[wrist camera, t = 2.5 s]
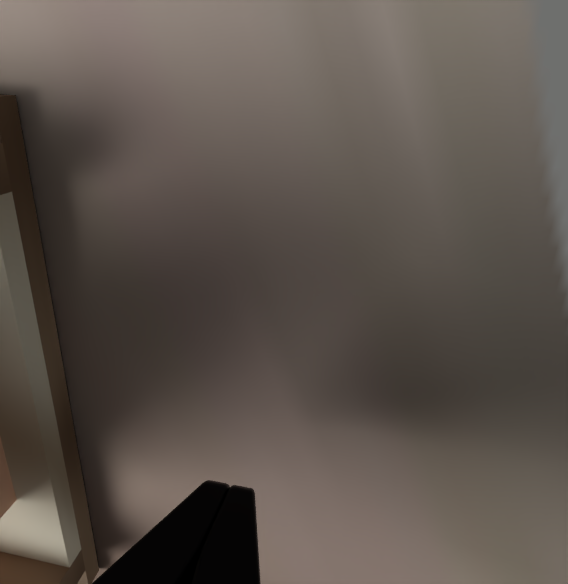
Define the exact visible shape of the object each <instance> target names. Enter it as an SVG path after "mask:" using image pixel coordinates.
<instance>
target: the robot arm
mask: <svg viewBox="0 0 568 584" xmlns="http://www.w3.org/2000/svg"><path fill="white" fill-rule="evenodd" d="M92 584H260V569H259V553H258V537H257V522H256V506H255V493H254V490H253V489H251V488H247V487H242V486H237V485H233V486H231V487H230V486H229V485H228V484H226V483H221V482H216V481H210V480H208V481H205V482H204V483H202V484H201V485H200V486H199V487H198V488H197V489H196V490H195V491H194V492H192V493H191V494H190V495H189V496H188V497H187V498H186V499H185V500H184V501H183V502H181V503H180V504H179V505H178V506H177V507H176V508H175V509H174V510H173V511H171V512H170V513H169V514H168V515H167V516H166V517H165V518H164V519H163V520H162V521H160V522H159V523H158V524H157V525H156V526H155V527H154V528H153V529H152V530H150V531H149V532H148V533H147V534H146V535H145V536H144V537H143V538H142V539H141V540H139V541H138V542H137V543H136V544H135V545H134V546H133V547H132V548H131V549H129V550H128V551H127V552H126V553H125V554H124V555H123V556H122V557H121V558H120V559H118V560H117V561H116V562H115V563H114V564H113V565H112V566H111V567H110V568H108V569H107V570H106V571H105V572H104V573H103V574H102V575H101V576H100V577H99V578H97V579H96V580H95V581H94V582H93V583H92Z"/></svg>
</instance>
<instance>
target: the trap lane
mask: <svg viewBox="0 0 568 584" xmlns="http://www.w3.org/2000/svg"><path fill="white" fill-rule="evenodd" d="M0 438H1V442H2V445H3V449H4V453H5V457H6V461H7V464H8V468H9V472H10V476H11V480H12V484H13V487H14V491H15V495H16V499H17V500H16V501H15V502H14V503H13V505H12V506H11V507H10V508H9V509H8V510H7V511H6V513H5V514H4V515H3V516H2V517H1V518H0V584H91V583H92V582H93V580H94V578H95V576H96V575H97V573H98V571H99V567H98V561H97V555H96V550H95V544H94V538H93V533H92V527H91V521H90V516H89V510H88V504H87V499H86V493H85V487H84V482H83V476H82V470H81V465H80V459H79V453H78V447H77V442H76V436H75V430H74V425H73V419H72V413H71V408H70V402H69V396H68V391H67V385H66V379H65V374H64V368H63V362H62V357H61V351H60V345H59V339H58V334H57V328H56V322H55V317H54V311H53V305H52V300H51V294H50V288H49V283H48V277H47V271H46V266H45V260H44V254H43V249H42V243H41V237H40V231H39V226H38V220H37V214H36V209H35V203H34V197H33V192H32V186H31V180H30V175H29V169H28V163H27V158H26V152H25V146H24V141H23V135H22V129H21V123H20V118H19V112H18V106H17V101H16V95H1V94H0Z"/></svg>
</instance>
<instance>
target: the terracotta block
mask: <svg viewBox="0 0 568 584" xmlns="http://www.w3.org/2000/svg"><path fill="white" fill-rule="evenodd" d="M16 500H17V499H16V495H15V491H14V487H13V484H12V480H11V476H10V472H9V468H8V464H7V461H6V457H5V453H4V449H3V445H2V442H1V438H0V518H1V517H2V516H3V515H4V514H5V513H6V511H7V510H8V509H9V508H10V507H11V506H12V505H13V503H14V502H15V501H16Z"/></svg>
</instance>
